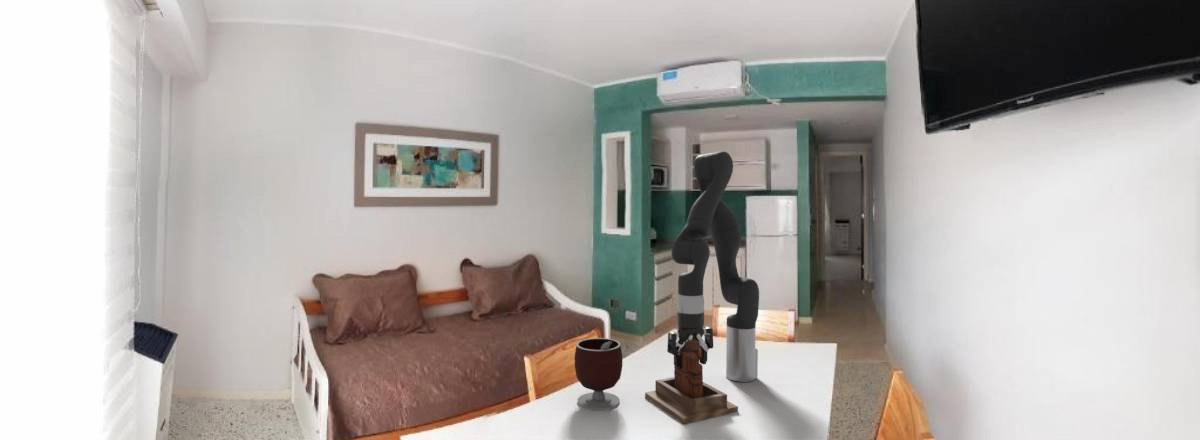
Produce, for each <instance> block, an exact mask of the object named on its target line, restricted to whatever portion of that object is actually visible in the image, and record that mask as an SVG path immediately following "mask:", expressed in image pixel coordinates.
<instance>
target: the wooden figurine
mask: <svg viewBox="0 0 1200 440" xmlns="http://www.w3.org/2000/svg"><path fill="white" fill-rule="evenodd" d="M683 343H684V342H682V341H680V342H679V344H681V345H683ZM680 356H682V368H681V369H678V368H676V367H675V366H674V365H673V366H674V371H673V373H674V374H673V375H674V376H673V377H675V389H676V390H678V391H680V392H681V393H683V394H685V395H686V396H688V397H690V398H691V399H696V398H701V397H703V382H704V381H703V380H704V377H703V364H701V363H700V359H701V357H702V355H701V348H700V343H699V342H698V340H697V339H694V338H692V340H690V341H688V342H687V343H686V344H685V346H684V349H683V352H682V354H681V355H680Z"/></svg>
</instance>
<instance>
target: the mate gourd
mask: <svg viewBox="0 0 1200 440" xmlns="http://www.w3.org/2000/svg"><path fill="white" fill-rule="evenodd" d="M575 344H576V347H575V351H574V369H575V376H576V379H577V380H578V382H579V383H580V384H581V385H582V387H584V388H585V389H588V390H592V392H587V393H584V394H581V395H580V396H579V397H578V398H577V405H578V407H580V408H581V409H584V410H587V411H594V412H604V411H605V412H606V411H610V410H612V409H615V408H617V407H618V406H619V405H620V403H621V401H620V397H618V395H616V394H613V393H610V392H604V391H605V390H609V389H613V388H614V387H615V386H616V385H617V383H619V380H620V379H621V375H622V371H623V352H622V347H621V345H622V344H621V342H620V341H618V340H616V339H612V338H604V337H592V338H591V337H590V338H585V339H581V340H579V341H578V342H576V343H575Z"/></svg>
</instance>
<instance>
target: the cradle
mask: <svg viewBox="0 0 1200 440" xmlns="http://www.w3.org/2000/svg"><path fill="white" fill-rule="evenodd" d="M644 398H645V399H646V400H648V401H649V402H651V403H653V404H654V405H655V406H656V407H659V408H660V409H661V410H662V411H664V412H665V413H667V414H668V415H669V416H671V417H673V418H674V419H675V420H677V421H678V422H680V423H681V424H682V425H687V424H690V423H691V424H692V423H696V422H699V421H700V422H701V421H704V420H709V419H712V418H713V419H714V418H718V417H722V416H727V415H730V414H736V413H738V412H739V406H737V405H736V404H734V403H732V402H730V401H729V400H728V394H726V393H725V392H723V391H721V390H719V389H717V388H716V387H714V386H712V385H710V384H708V383H706V382H704V381H703V397H701V398H696V399H691V398H690V397H688V396H686V395H685V394H683V393H681V392H680V391H678V390H676V389H675V376H672V377H667V378H660V379H657V380H655V390H651V391H645V392H644Z"/></svg>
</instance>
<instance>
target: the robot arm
mask: <svg viewBox="0 0 1200 440" xmlns="http://www.w3.org/2000/svg"><path fill="white" fill-rule="evenodd" d="M693 169H694V174H695V178H696V182H697V185H698V188H699V191H700V195H699V197H698V198H697V199H696V200H695V201H694V203H693V204H692V206H691V208H690V210H689V214H688V217H687V220H686V222H685V226H684V227H683V228H682V230H681V232H680V233H679V234H678V236H677V237H676V239H675V240H674V242H673V245H672V247H671V257H672V260H673V261H674V262H675V263H676V264H679V265H689V266H691V265H692V266H693V269H692V271H688V272H687V271H686V272H682V273H680V274H679V275H678V277H677V278H678V280H677V281H678V283H677V284H678V285H677V293H678V294H677V301H676V302H677V303H676V304H677V305H676V306H677V312H676V313H677V317H676V319H677V320H676V321H677V322H676V324H677V331H676V332H673V331H669V332H668V333H667V347H666V348H667V349H666V352H667V353H669V354H670V355H673V366H675V367H676V368H678V369H681V368H682V356H680V355H681V354H682V352H683V349H684V346H685V344H686V343H687V342H688V341H690V340H692V338H694V339H697V340H698V342H699V343H700V348H701V355H702V357H701V359H700V360H699V364H701V365H706V364H707V362H708V351H709V350H710V349H714V332H713V331H714V330H713V328H712V327H708V326H705V299H704V278H705V273H706V268H707V266H708V262H709V259H710V254H711V250H710V247H709V244H708V243H707V242H706V241H704V239H705V238H707V237H708V236H709V234H710V235H711V239H712V243H713V246H714V247H713V248H714V253H715V257H716V261H717V262H716V263H717V268H718V275H719V284H720V291H721V294H722V297H723V300H725V301H726V302H727V303H729V304H732V305H737V307H736V308H737V309H736V312H735V313H734V314H731V315H728V316H727V317H726V338H725V339H726V342H725V343H726V344H725V345H726V346H725V347H726V348H725V351H726V352H725V355H726V357H725V359H726V361H725V363H726V367H725V369H726V371H725V372H726V373H725V375H726V378H727V379H728V380H731V381H733V382H740V383H750V382H753V381H755V380H756V379H757V378H758V373H759V372H758V369H759V368H758V366H759V365H758V363H759V362H758V359H759V358H758V357H759V352H758V351H759V350H758V348H756V325H757V324H756V323H757V321H758V318H759V308H760V307H759V305H760V288H759V285H758V283H757V281H756V280H755V279H752V278H749V277H748V278H747V277H742V276H739V273H738V268H737V255H738V253H739V250H740V247H741V244H742V233H741V228H740V224H739V220H738V217H737V215H736V213H734V211H733V210H732V209H731V208H730V207H729V206H728V205H727V204H726V202H724V201H723V199H722V196H723V195H724V192H725V191H726V188H727V186H728V184H729V182H730V180H731V177H732V175H733V171H734V162H733V158H732V157H731V155H730V154H729V152H727V151H723V150H722V151H714V152H710V153H704V154H699V155H697V156H696V157H695V159H694V162H693ZM702 239H703V240H702ZM703 336H704V339H703ZM680 341H682V342H684V343H683V345H681V344H679V342H680Z"/></svg>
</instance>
